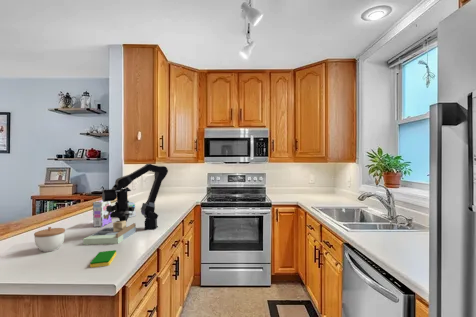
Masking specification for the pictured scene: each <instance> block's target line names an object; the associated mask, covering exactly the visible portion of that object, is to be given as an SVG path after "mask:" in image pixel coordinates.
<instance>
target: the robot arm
mask: <svg viewBox="0 0 476 317" xmlns="http://www.w3.org/2000/svg"><path fill="white" fill-rule="evenodd" d="M148 172H152V173H154V180H153V184H152V187H151V188H150V191H149V194H148V198H147V200H146V202H142V203H141V207H140V210H141V211H140V213H141V215H143V216H144V218H145V219H144V230H156V229H157V228H158V227H159V226H158V217H159V214H157V213H156V212H155V210H156V208H155V207H156V206H155V205H156V204H155V203H156V201H157V196H158V194H159V192H160V188H161V185H162V182H163V180H164V179H165V178H166V177H167V174H168V172H169V169H168V168H167V167H166V166H165V165H155V164H152V163H146V164H145V165H143V166H141V167H140V168H138V169H136V170H135V171H133V172H131V173H129V174H127V175H124V176H121V177H118V178H116V179H115V182H114V185H113V186H112V188H111V189H110V188H109V189H102V195H101V200H103V202H107V201H111V202H114V201H115V200H116V201H115V203H114V205H112V204H111V205H109V206H107V208H106V211H108V213H111V214H110V217H111V218H112V219H114V218H118V219H119V220H118V221H126V223H127V222H128V219H129V218H128V217H129V215H130V213H128V212H127V211H132V212H133V211H134V207H133V206H129V207H128V203H129V202H130V200H128V192H131V191H132V189H130V188H129V186H130V184H131V183H132V182H133V181H134V180H137V179H139V177H142V176H143V175H145V174H146V173H148Z"/></svg>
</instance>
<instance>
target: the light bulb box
mask: <svg viewBox="0 0 476 317" xmlns="http://www.w3.org/2000/svg"><path fill="white" fill-rule="evenodd" d="M129 206H133V207H134V211H133V212H132V211H127V212H128V213H130V215H129V217H128V219H129V218H133V217H136V216H137V215H136V213H137V212H136V202H135V201H129V203H128V207H129Z"/></svg>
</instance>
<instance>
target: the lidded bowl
mask: <svg viewBox="0 0 476 317" xmlns="http://www.w3.org/2000/svg"><path fill="white" fill-rule="evenodd" d="M65 232H66V230H65V228H64V227H53V228H52V227H51V226H48V227H47V228H46V229H45V228H44V229H41V230H38V231H36V232H34V234H33V236H34V242H35V243H34V244H35V246H36V247H37V248H38V249H39V250H40V251H41V252H42V253H45V252H46V253H48V252H55V251H57V250H59V249H60V247H61V246H62V245H63V243H64V242H65V236H66V234H65Z"/></svg>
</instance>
